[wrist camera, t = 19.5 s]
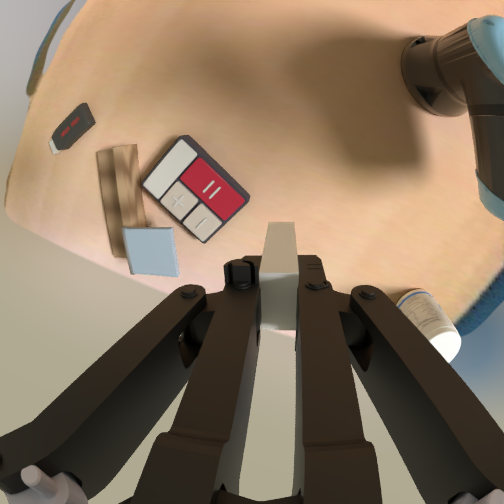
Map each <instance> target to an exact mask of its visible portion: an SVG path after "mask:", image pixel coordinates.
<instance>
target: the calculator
mask: <svg viewBox="0 0 504 504" xmlns="http://www.w3.org/2000/svg"><path fill="white" fill-rule="evenodd" d="M141 185H142V187H144V188H145V189H146V190H147V191H148V192H149V193H150V194H151V195H152V196H153V197H154V198H155V199H156V200H157V201H158V202H159V203H160V204H161V205H162V206H163V207H164V208H165V209H167V210H168V211H169V212H170V213H171V214H172V215H173V216H174V217H175V218H176V219H177V220H178V221H179V222H180V223H181V224H182V225H183V226H185V227H186V228H187V229H188V230H189V231H190V232H191V233H192V234H193V235H194V236H195V237H196V238H197V239H199V240H200V241H201V242H202V243H206V242H207V241H208V240H209V239H210V238H211V237H212V236H213V235H214V234H215V233H217V232H218V231H219V230H220V229H221V228H222V227H223V226H224V225H225V224H226V223H227V222H228V221H229V220H230V219H231V218H232V217H233V216H234V215H235V214H236V213H237V212H239V211H240V210H241V209H242V208H243V207H244V206H245V205H246V204H247V203H248V202H249V199H250V195H249V194H248V193H247V192H246V191H245V190H244V189H243V188H242V187H241V186H240V185H239V184H238V183H237V182H236V181H235V180H234V179H233V178H232V177H231V176H230V175H229V174H228V173H227V172H226V171H225V170H224V169H223V168H222V167H221V166H220V165H219V164H218V163H217V162H216V161H215V160H214V159H213V158H212V157H211V156H210V155H209V154H207V152H206V151H205V150H204V149H203V148H202V147H201V146H200V145H199V144H198V143H197V142H196V141H195V140H194V139H193V138H191V137H190V136H189V135H184V136H180V137H179V138H178V139H177V140H176V141H175V143H174V144H173V145H172V146H171V147H170V148H169V150H168V151H167V152H166V153H165V154H164V155H163V157H162V158H161V159H160V160H159V161H158V163H157V164H156V165H155V166H154V168H153V169H152V170H151V171H150V173H149V174H148V175H147V176H146V178H145V179H144V180H143V181H142V183H141Z"/></svg>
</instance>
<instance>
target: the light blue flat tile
mask: <svg viewBox="0 0 504 504" xmlns="http://www.w3.org/2000/svg"><path fill="white" fill-rule="evenodd" d="M121 230H122V235H123V241H124V246H125V250H126V255H127V260H128V264H129V269H130V273H131V274H132V275H134V274H145V275H157V276H169V277H178V276H179V275H180V272H179V266H178V260H177V254H176V247H175V240H174V233H173V227H128V226H124V227H121Z"/></svg>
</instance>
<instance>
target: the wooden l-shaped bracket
mask: <svg viewBox="0 0 504 504" xmlns="http://www.w3.org/2000/svg"><path fill="white" fill-rule="evenodd" d="M97 153H98V163H99V172H100V180H101V188H102V194H103V201H104V207H105V213H106V219H107V224H108V230H109V235H110V240H111V244H112V249H113V253H114V257H120V258H127V255H126V250H125V246H124V241H123V235H122V230H121V227H124V226H128V227H147V225H146V219H145V212H144V205H143V197H142V190H141V181H140V172H139V162H138V151H137V144H134V145H126V146H119V147H114V148H113V149H108V150H103V151H99V152H97Z"/></svg>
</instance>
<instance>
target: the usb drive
mask: <svg viewBox="0 0 504 504" xmlns="http://www.w3.org/2000/svg"><path fill="white" fill-rule="evenodd" d="M95 123H96V122H95V120H94V118H93V116H92V113H91V111H90V109H89V107H88V104H87V103H82V104H80V105H79V106H78V107H77V108H76V109H75V110H74V111H73V112H72V113H71V114H70V115H69V116H68V117H67V118H66V119H65V120H64V121H63V122H62V123H61V124H60V125H59V126H58V128H57V129H56V130H55V132H54V133H53V135H52V140H51V141H50V142H49V145H50V147H51V149H52V152H53V154H54V155H56V154H59V153H60V152H61V151H62V150H65V149H69V148H70V147H71V146H72V145H73V144H74V143H75V142H76V141H77V140H78V139H79V138H80V137H81V136H82V135H83V134H84V133H85V132H87V131H88V130H89V129H90V128H91V127H92V126H93V125H94V124H95Z"/></svg>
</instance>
